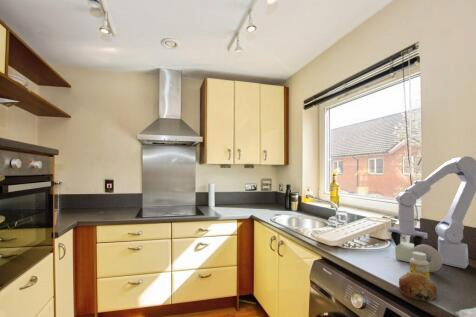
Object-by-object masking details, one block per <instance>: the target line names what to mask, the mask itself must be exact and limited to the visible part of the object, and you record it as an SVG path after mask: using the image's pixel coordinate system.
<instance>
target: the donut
mask: <svg viewBox="0 0 476 317" xmlns="http://www.w3.org/2000/svg"><path fill="white" fill-rule="evenodd" d="M412 252H422V253H425V254H427V256H429V258H430V262H429V261H428V262H429V273H435V272H437V271H439V270H440V269H441V268H442V266H443V264H442V258H441V256H440V254H439V253H438V249H436V248H434V247H433V246H432V245H428V244H423V243H420V245H417V246H416V247H414V248H413V250H412ZM412 258H413V256H412Z"/></svg>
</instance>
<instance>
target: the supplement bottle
mask: <svg viewBox="0 0 476 317" xmlns="http://www.w3.org/2000/svg"><path fill="white" fill-rule="evenodd" d="M412 256H413V258H411V259H410V262H409V264H410V271H409V272H411V273H419V274H422V275H424V276H426V277H428V278H429V279H430V272H429V261H428V260H427V259H428V257H426V254H425V253H422V252H412ZM426 258H427V259H426Z"/></svg>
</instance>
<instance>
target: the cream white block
mask: <svg viewBox="0 0 476 317" xmlns="http://www.w3.org/2000/svg"><path fill="white" fill-rule="evenodd" d="M413 248H414V243H411V242H409V243H407V242H401V243H400V244H398V245H397V246H396V245H395V248H394V249H395V260H398V261H403V262H407V263H410V259H411V258H412V250H413Z"/></svg>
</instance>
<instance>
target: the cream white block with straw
mask: <svg viewBox="0 0 476 317" xmlns="http://www.w3.org/2000/svg"><path fill="white" fill-rule="evenodd" d="M391 228H399V220H398V221H396V222H395V223H394V224H393V226H391ZM410 241H411V236H410V235H404V234H401V236H400V243H401V242H407V243H410Z"/></svg>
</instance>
